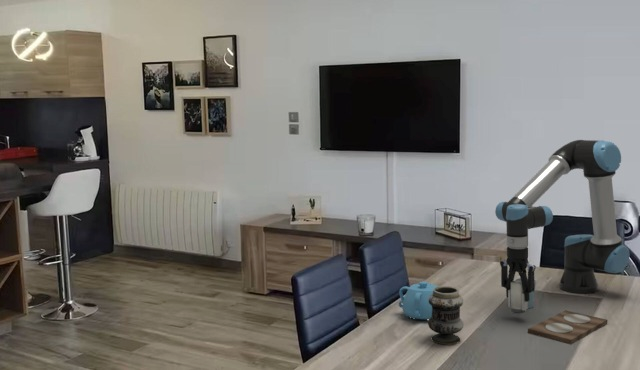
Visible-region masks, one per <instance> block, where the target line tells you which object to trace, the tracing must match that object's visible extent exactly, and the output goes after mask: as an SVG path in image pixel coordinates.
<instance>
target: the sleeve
mask: <svg viewBox="0 0 640 370" xmlns="http://www.w3.org/2000/svg"><path fill="white" fill-rule="evenodd" d="M523 292H524V291H523V287H522V282H521V281H515V280H513V281H511V307H510V312H511V313H512V314H513V313H514V314H524V313H525V312H526V310H524V311H523V310H522V293H523Z"/></svg>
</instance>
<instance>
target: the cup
mask: <svg viewBox="0 0 640 370" xmlns="http://www.w3.org/2000/svg"><path fill="white" fill-rule="evenodd" d="M527 279H528V277H527ZM514 281H521V278H520V277H519V278H516V279H515V280H514ZM536 283H537V282H536V280H535V279H534V284H535V285H536ZM535 290H536V289H535ZM535 290H534V291H533V292H531V293H529V299H530V300H529V301H528V309H531V308H534V307H533V306H534V297H535Z"/></svg>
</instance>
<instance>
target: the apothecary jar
mask: <svg viewBox="0 0 640 370" xmlns="http://www.w3.org/2000/svg"><path fill="white" fill-rule="evenodd" d="M429 304H430V305H431V306H432V317H431V318H430V319H429V321H427V325H428V327H429V328H430V330H431V331H433V332H434V333H436V334H433V335H432V336H431V338H432V339H431V341H432V340H433V341H434V342H433V341H432V342H433V343H435V342H437V343H436V344H438V343H439V345H445V344H451V345H455V344H457V343H458V341H459V342H461V338H460V337H459V336H458V335H456V334H457V333H459V332H461V331H462V329H463V328H464V321H463V320H462V319H461V307H462V306H463V304H464V298H463V297H462V295H460V294H459V289H458V288H457V287H453V286H449V285H440V286H437V287H436V288H434V290H433V294H432V295H431V296H430V297H429Z"/></svg>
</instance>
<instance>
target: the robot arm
mask: <svg viewBox="0 0 640 370" xmlns="http://www.w3.org/2000/svg"><path fill="white" fill-rule="evenodd" d="M621 162H622V154H621V150H620V148H619V147H618V145H616V144H615V143H614V142H612V141H605V140H594V139H593V140H590V139H589V140H588V139H587V140H586V139H585V140H584V139H577V140H572V141H570V142H568V143H567V144H564V145H563V146H561V147H560V148H558V149H557V150H556V151H554V152H553V153H552V154H551V155H550V157H549V158H548V162H547V163H545V165H544V166H543V167H542V168H540V170H539V171H538V172H537V173H536V174H535V175H534V176H532V178H531V179H530V180H529V181H528V182H527V183H526V184H525V185H524V186H523V187H521V188H520V190H518V192H517V193H515V194H514V196H513V197H511V199H510V200H508V201H501V202H499V203H498V204H497V205H496V207H495V212H494V213H495V216H496V218H497V219H498V220H500V221H502V222H505V224H506V246H507V247H506V260H505V259H503V260H501V261H500V262H499V264H500V267H501V271H500V273H501V275H500V276H501V280H500V283H501V287H502V288H504V289H505V291H506V293H505V294H506V295H505V296H506V298H507V303H508V304H507V306H508V308H511V281H515V280H514V279H515V276H516V273H518V276H520V277H519V279H520V278H521V282H522V287H523V291H524V292H523V293H522V310H523V311H524V310H525V311H526V310H528V309H529V308H528V301H529V300H530V299H529V293H531V292H533V291H534V290H536V284H534V280H535V270H536V265H534V264H533V265H532V264H530V263H529V261H528V258H529V248H528V246H529V230H531V229H537V228H541V227H542V228H543V227H545V226H548V225H551V223H552V222H553V219H554V214H553V211H552V210H551V208H550V207H549V206H547V205H538V206H534V205H535V203H536V202H537V201H539V199H540V198H541V197H542V196H543V195H544V194H545V193H546V192H548V191H549V189H550V188H551V187H552V186H553V185H554V184H555V183H556V182H557V181H558V180H559V179H560V178H561V177H562V176H563V175H568V174H569V173H570V172H571V171H573V170H576V169H579V170H583V171H582V172H583V177H584V178H585V179H587V180H588V188H589V189H588V190H589V199H590V209H591V219H592V228H593V229H592V232H593V234H574V235H568V236H567V237H565V239H564V245H563V248H564V249H563V251H564V252H563V254H564V256H563V257H564V260H563V261H564V263H563V264H564V266H563V267H564V269H563V272H562V275H561V278H560V281H559V288H560V289H561V290H562V291H565V292H569V293H574V294H591V293H596V292H598V291H599V289H598V288H599V287H598V286H599V284H598V280H597V278H596V274H595V270H598V271H603V272H606V273H612V274H618V273H621V272H622V271H623V270H625V268H626V267H627V266H628V264H629V260H630V250H629V248H628V247H627V246H626V245H624V244H623V242H622V241H623V240H622V236H619V235H618V233H617V222H616V221H617V220H616V210H615V199H614V197H615V196H614V188H613V179H612V178H613V177H614V176H615V175H616V171H617V170H619V168H620V166H621ZM527 278H528V279H527ZM534 292H535V291H534Z"/></svg>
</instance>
